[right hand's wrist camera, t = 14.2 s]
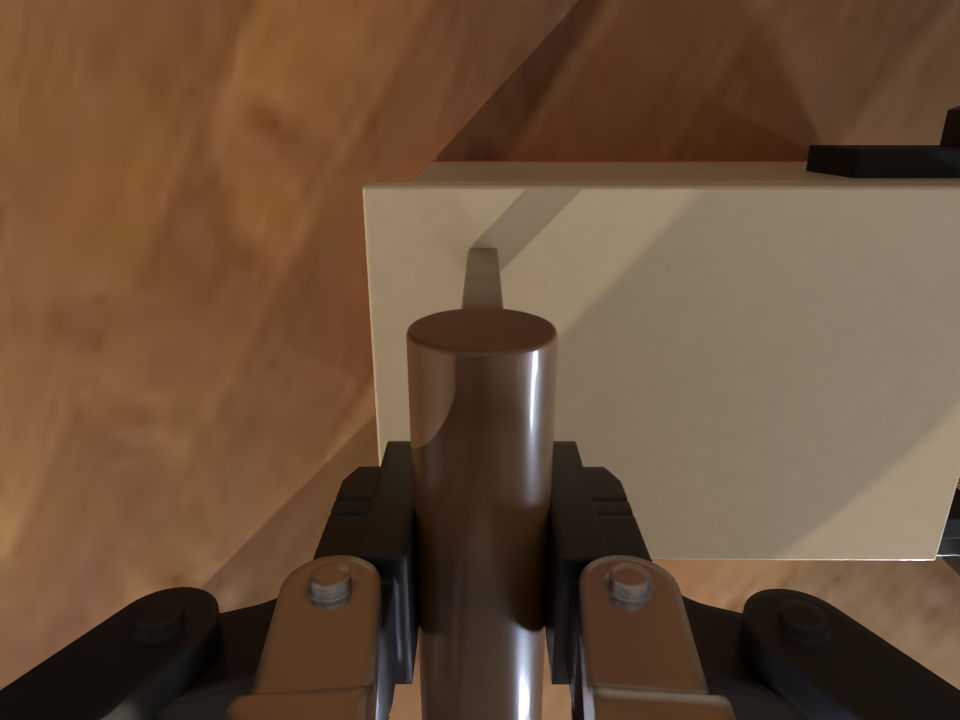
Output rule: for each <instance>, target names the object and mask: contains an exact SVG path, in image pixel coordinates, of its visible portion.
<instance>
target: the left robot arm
mask: <svg viewBox="0 0 960 720" xmlns="http://www.w3.org/2000/svg"><path fill="white" fill-rule="evenodd" d="M806 171H810V172H816V173H823V174H829V175H836V176H842V177H849V178H960V106H958V107H955V108H953V109H950V110H948V112H947V116H946V121H945V125H944V129H943V134H942V138H941V142H940V145H810V148H809V154H808V160H807V166H806ZM937 556H942V559H943V560H944V561H945V562H946V563H947V564H948V565H949V566H950V567H951V568H952V569H953V570H954V571H955V572H956V573H957V574H958V575H959V576H960V490H959V489H957V488H956V490H955V494H954V497H953V501H952V504H951V507H950V511H949V514H948V518H947V521H946V525H945V528H944V532H943V535H942V539H941V542H940V546H939V549H938V552H937Z"/></svg>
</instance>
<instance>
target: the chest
mask: <svg viewBox="0 0 960 720" xmlns="http://www.w3.org/2000/svg"><path fill="white" fill-rule="evenodd" d="M806 166H807V161H432V162H431V164H430V165H429V166H427V167H426V168H425V169H424V170H423V171H421V172H420V173H419V174H418V175H416V176H415V177H414V178H413V179H412V180H410V181H409V182H960V178H849V177H842V176H836V175H829V174H823V173H816V172H810V171H806Z"/></svg>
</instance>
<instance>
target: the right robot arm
mask: <svg viewBox="0 0 960 720" xmlns="http://www.w3.org/2000/svg"><path fill="white" fill-rule="evenodd" d="M418 631H419V612H418V587H417V562H416V538H415V513H414V505H413V488H412V464H411V441H388V442H387V446H386V449H385V453H384V456H383V460H382V463H381V467H358V468H357V469H356V470H355V471H354V472H353V473H351V474H350V475H349V476H348V477H347V478H346V479H345V480H343V482H342V484H341V487H340V490H339V492H338V495H337V498H336V501H335V503H334V505H333V508H332V511H331V515H330V516H329V519H328V521H327V524H326V527H325V529H324V532H323V534H322V537H321V540H320V542H319V545H318V548H317V550H316V553H315V556H314V558H313V560H312V561H310V562H308V563H305V564H303V565H302V566H300V567H298V568H297V569H296V570H294V571H293V572H292V573H291V574H290V575H289V576H288V577H287V578H286V579H285V581H284V582H283V584H282V586H281V589H280V592H279V596H278V598H276V599H274V600H271V601H268V602H266V603H263V604H259V605H256V606H251V607H247V608H243V609H238V610H234V611H230V612H225V613H221V614H220V613H219V607H218V603H217V601H216V599H215V598H214V597H213V596H212V595H211V594H210V593H208V592H206V591H204V590H201V589H197V588H191V587H179V588H171V589H165V590H161V591H158V592H154V593H152V594H149V595H146V596H144V597H142V598H140V599H138V600H136V601H134V602H133V603H131V604H129V605H128V606H126V607H125V608H123V609H122V610H120V611H119V612H117V613H116V614H114V615H113V616H111V617H110V618H108V619H107V620H105V621H104V622H102V623H101V624H99V625H98V626H96V627H95V628H93V629H92V630H90V631H89V632H87V633H86V634H84V635H83V636H81V637H80V638H78V639H77V640H75V641H74V642H72V643H71V644H69V645H68V646H66V647H65V648H63V649H62V650H60V651H59V652H57V653H56V654H54V655H53V656H51V657H50V658H48V659H47V660H45V661H44V662H42V663H41V664H39V665H38V666H36V667H35V668H33V669H32V670H30V671H29V672H27V673H26V674H24V675H23V676H21V677H20V678H18V679H17V680H15V681H14V682H12V683H11V684H9V685H8V686H6V687H5V688H3V689H2V690H0V720H389V713H390V711H391V707H392V702H393V696H394V689H395V684H412V681H413V673H414V664H415V656H416V647H417V639H418ZM545 633H546V641H547V648H548V656H549V664H550V672H551V680H552V684H569V686H570V693H571V699H572V707H571V720H960V690H958V689H957V688H955V687H954V686H952V685H951V684H949V683H948V682H946V681H945V680H943V679H942V678H940V677H939V676H937V675H936V674H934V673H933V672H931V671H930V670H928V669H927V668H925V667H924V666H922V665H921V664H919V663H918V662H916V661H915V660H913V659H912V658H910V657H909V656H907V655H906V654H904V653H903V652H901V651H900V650H898V649H897V648H895V647H894V646H892V645H891V644H889V643H888V642H886V641H885V640H883V639H882V638H880V637H879V636H877V635H876V634H874V633H873V632H871V631H870V630H868V629H867V628H865V627H864V626H862V625H861V624H859V623H858V622H856V621H855V620H853V619H852V618H850V617H849V616H847V615H846V614H844V613H843V612H841V611H840V610H838V609H837V608H835V607H834V606H832V605H830V604H829V603H827V602H825V601H823V600H821V599H819V598H817V597H814V596H812V595H809V594H806V593H802V592H799V591H794V590H788V589H769V590H763V591H760V592H757V593H755V594H754V595H752V596H751V597H750V598H749V599H748V600H747V601H746V603H745V605H744V611H743V613H738V612H734V611H730V610H725V609H721V608H716V607H712V606H708V605H705V604H701V603H698V602H696V601H693V600H690V599H688V598H686V597H684V596H682V595H681V592H680V589H679V586H678V584H677V582H676V581H675V579H674V578H673V577H672V576H671V575H670V574H669V573H668V572H667V571H666V570H664V569H663V568H662V567H660V566H658V565H657V564H655V563H652V560H651V558H650V555H649V553H648V550H647V547H646V545H645V542H644V540H643V537H642V535H641V532H640V529H639V527H638V524H637V522H636V519H635V517H634V516H633V511H632V509H631V506H630V504H629V501H627V496H626V493H625V491H624V488H623V486H622V483H621V481H620V480H619V479H618V478H616V477H615V476H614V475H613V474H612V473H611V472H609V471H608V470H607V469H606V468H605V467H583V465H582V461H581V458H580V455H579V451H578V448H577V444H576V442H575V441H553V463H552V486H551V504H550V512H549V535H548V559H547V582H546V606H545Z"/></svg>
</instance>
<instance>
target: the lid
mask: <svg viewBox="0 0 960 720" xmlns="http://www.w3.org/2000/svg"><path fill="white" fill-rule="evenodd" d="M362 190H363V206H364V223H365V239H366V256H367V273H368V289H369V306H370V322H371V339H372V355H373V372H374V389H375V405H376V422H377V438H378V455H379V467H381V463H382V460H383V456H384V453H385V449H386V446H387V442H388V441H411V464H412V488H413V505H414V513H415V538H416V562H417V587H418V612H419V631H418V635H419V659H420V684H421V708H422V720H541V716H542V693H543V670H544V647H545V606H546V582H547V559H548V535H549V512H550V504H551V486H552V463H553V441H575V442H576V444H577V448H578V451H579V455H580V458H581V461H582V465H583V467H605V468H606V469H607V470H608V471H609V472H611V473H612V474H613V475H614V476H615V477H616V478H618V479H619V480H620V481H621V483H622V486H623V488H624V491H625V493H626V496H627V501H629V504H630V506H631V509H632V511H633V516H634V517H635V519H636V522H637V524H638V527H639V529H640V532H641V535H642V537H643V540H644V542H645V545H646V547H647V550H648V553H649V555H650V558H651V559H657V560H935V559H936V556H937V552H938V549H939V546H940V542H941V539H942V535H943V532H944V528H945V525H946V521H947V518H948V514H949V511H950V507H951V504H952V501H953V497H954V494H955V490H956V487H957V483H958V480H959V476H960V182H371V183H369V184H367V185H365V186H363V189H362Z"/></svg>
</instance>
